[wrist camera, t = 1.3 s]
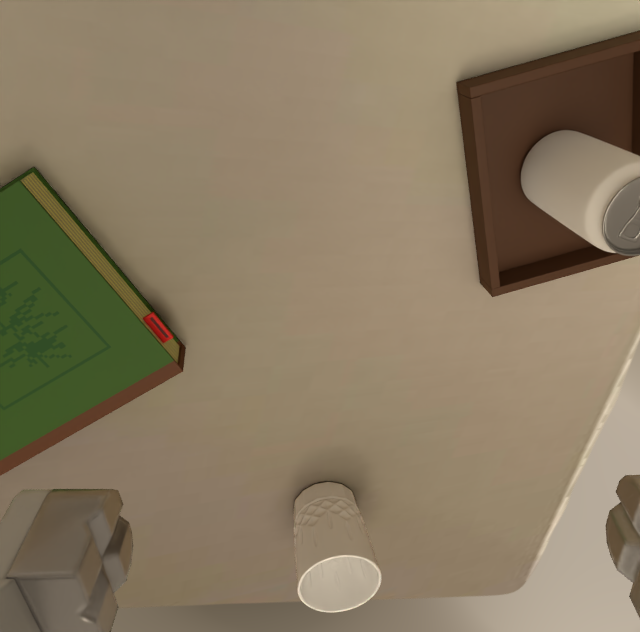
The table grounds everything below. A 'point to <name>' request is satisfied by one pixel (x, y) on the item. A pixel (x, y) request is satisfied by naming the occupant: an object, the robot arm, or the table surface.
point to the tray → (518, 139)
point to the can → (587, 188)
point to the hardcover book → (67, 326)
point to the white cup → (333, 550)
